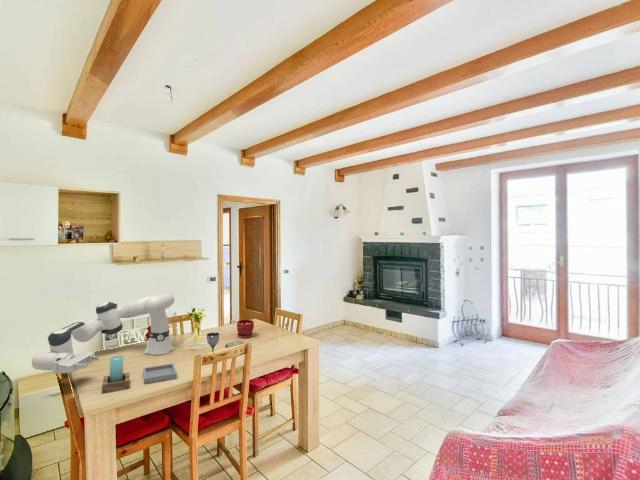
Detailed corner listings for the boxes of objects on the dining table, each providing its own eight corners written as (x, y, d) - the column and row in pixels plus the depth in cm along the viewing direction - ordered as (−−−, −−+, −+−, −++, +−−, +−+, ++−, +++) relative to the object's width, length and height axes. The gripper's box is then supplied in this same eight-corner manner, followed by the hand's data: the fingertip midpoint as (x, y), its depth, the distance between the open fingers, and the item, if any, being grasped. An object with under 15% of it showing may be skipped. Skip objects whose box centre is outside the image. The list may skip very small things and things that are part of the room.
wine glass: (220, 354, 229) (220, 332, 228) (217, 359, 221) (217, 336, 220) (208, 354, 228) (208, 332, 228) (204, 358, 221) (205, 335, 220)
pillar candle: (110, 385, 181) (110, 357, 181) (123, 382, 184) (123, 355, 184) (109, 389, 176) (109, 360, 175) (122, 387, 179) (123, 358, 178)
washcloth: (235, 353, 232) (235, 349, 232) (223, 346, 245) (223, 342, 245) (252, 349, 241) (252, 345, 241) (240, 343, 254) (240, 338, 254)
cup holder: (103, 383, 182) (103, 376, 182) (129, 379, 188) (129, 372, 188) (102, 393, 172) (102, 385, 172) (129, 388, 178) (129, 380, 177)
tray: (143, 373, 197) (143, 368, 197) (173, 368, 205) (173, 363, 204) (144, 384, 183) (144, 378, 183) (176, 378, 191) (176, 373, 191)
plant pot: (233, 338, 265) (233, 322, 264) (242, 333, 277) (242, 318, 277) (248, 339, 261) (248, 324, 261) (256, 335, 274) (256, 320, 273)
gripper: (79, 360, 189) (104, 360, 189) (50, 375, 169) (79, 376, 169) (79, 348, 189) (104, 349, 189) (50, 362, 168) (79, 363, 169)
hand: (92, 362), depth 179 cm, fingers open, 8 cm apart
